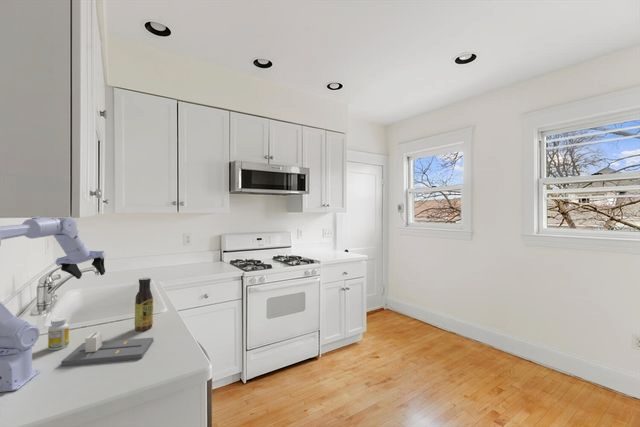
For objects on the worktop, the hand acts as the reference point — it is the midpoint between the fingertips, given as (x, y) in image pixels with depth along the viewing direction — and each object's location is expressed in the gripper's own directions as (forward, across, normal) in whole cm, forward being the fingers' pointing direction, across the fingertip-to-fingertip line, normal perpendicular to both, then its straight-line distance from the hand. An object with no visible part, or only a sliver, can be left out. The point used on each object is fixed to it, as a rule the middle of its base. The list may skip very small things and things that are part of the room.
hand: (91, 275), depth 109 cm
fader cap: (+12, -3, +23) cm, 26 cm away
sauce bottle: (+25, -11, +8) cm, 29 cm away
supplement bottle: (+16, +11, +16) cm, 25 cm away
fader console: (+14, -8, +24) cm, 29 cm away
